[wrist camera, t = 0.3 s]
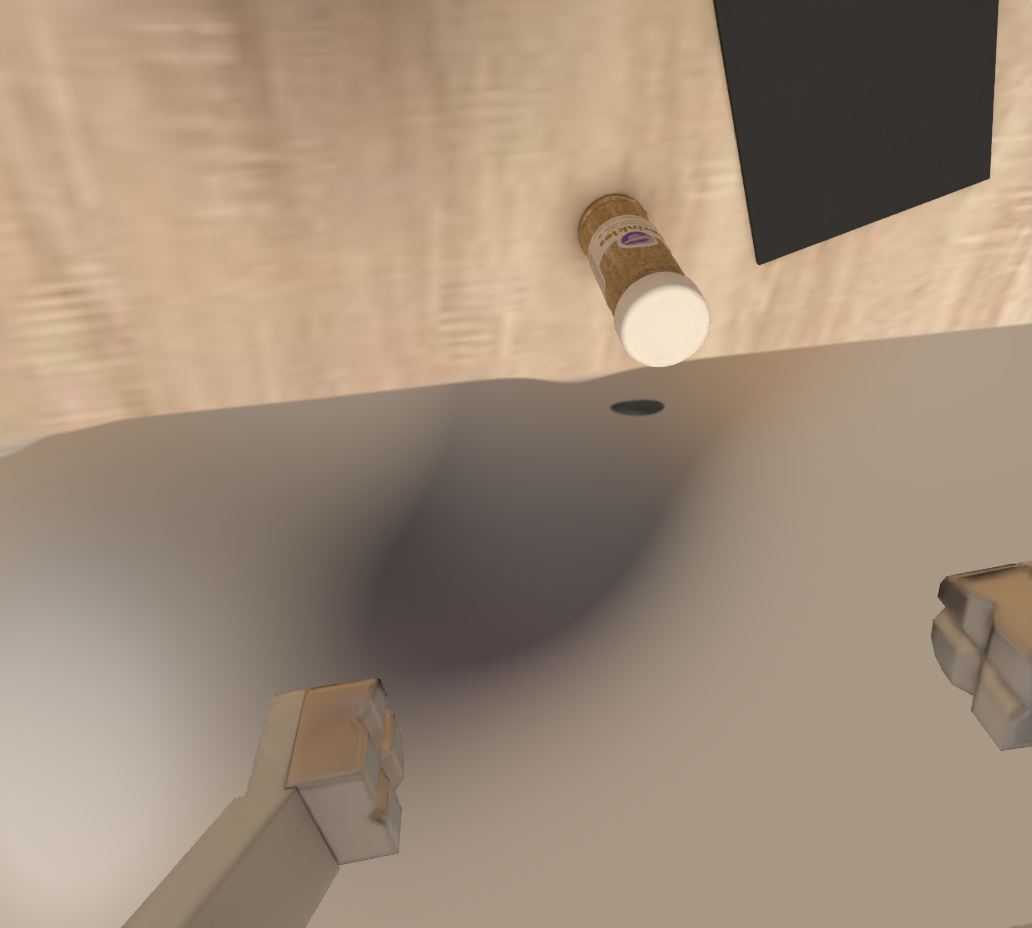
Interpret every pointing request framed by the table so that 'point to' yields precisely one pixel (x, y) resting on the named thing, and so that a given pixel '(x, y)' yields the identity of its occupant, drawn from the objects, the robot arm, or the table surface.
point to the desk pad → (855, 109)
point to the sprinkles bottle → (643, 284)
